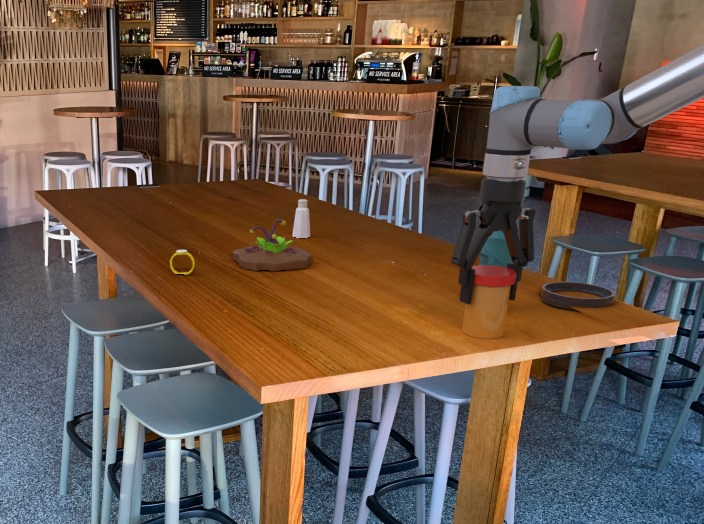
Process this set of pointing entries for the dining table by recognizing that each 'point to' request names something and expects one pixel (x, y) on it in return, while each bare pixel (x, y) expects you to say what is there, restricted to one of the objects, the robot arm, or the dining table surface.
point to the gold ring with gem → (182, 252)
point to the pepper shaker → (301, 220)
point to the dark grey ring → (562, 300)
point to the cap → (494, 276)
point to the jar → (486, 312)
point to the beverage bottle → (495, 251)
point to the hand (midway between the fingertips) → (486, 300)
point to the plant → (272, 253)
